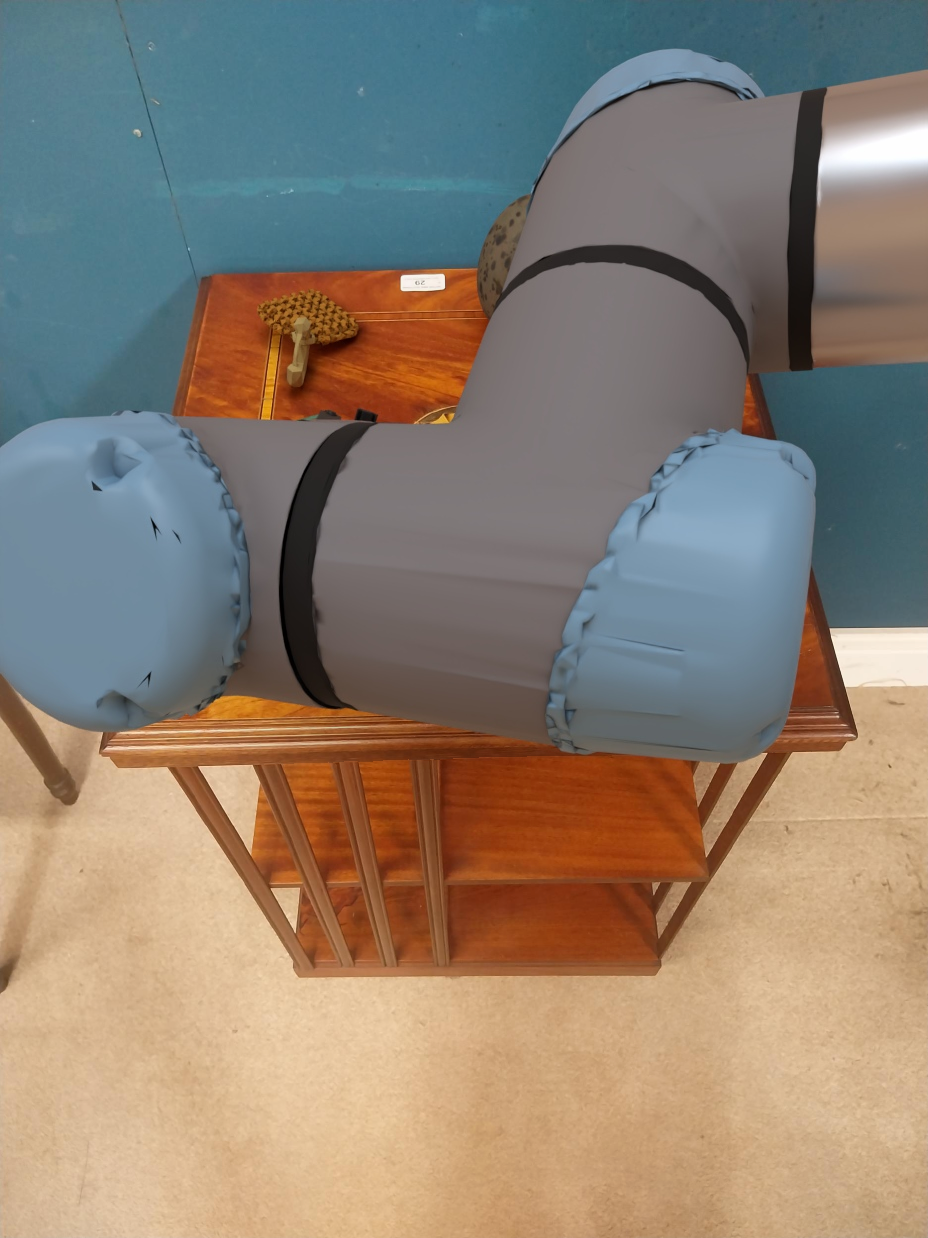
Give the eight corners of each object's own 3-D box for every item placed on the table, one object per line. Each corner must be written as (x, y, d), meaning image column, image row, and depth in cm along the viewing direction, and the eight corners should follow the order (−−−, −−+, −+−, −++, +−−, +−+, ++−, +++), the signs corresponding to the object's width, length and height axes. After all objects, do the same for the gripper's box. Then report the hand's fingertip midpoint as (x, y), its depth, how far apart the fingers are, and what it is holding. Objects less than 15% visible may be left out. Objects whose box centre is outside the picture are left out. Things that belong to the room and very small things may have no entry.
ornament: (266, 252, 88) (239, 328, 78) (367, 274, 89) (353, 351, 80) (263, 312, 93) (237, 390, 83) (359, 332, 94) (345, 411, 84)
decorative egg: (580, 297, 91) (597, 164, 78) (578, 370, 86) (596, 240, 73) (480, 292, 92) (481, 160, 79) (472, 364, 87) (471, 235, 74)
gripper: (94, 493, 37) (330, 472, 56) (625, 744, 31) (684, 624, 51) (128, 320, 35) (362, 361, 54) (710, 557, 29) (737, 507, 48)
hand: (517, 488), depth 52 cm, fingers open, 13 cm apart
